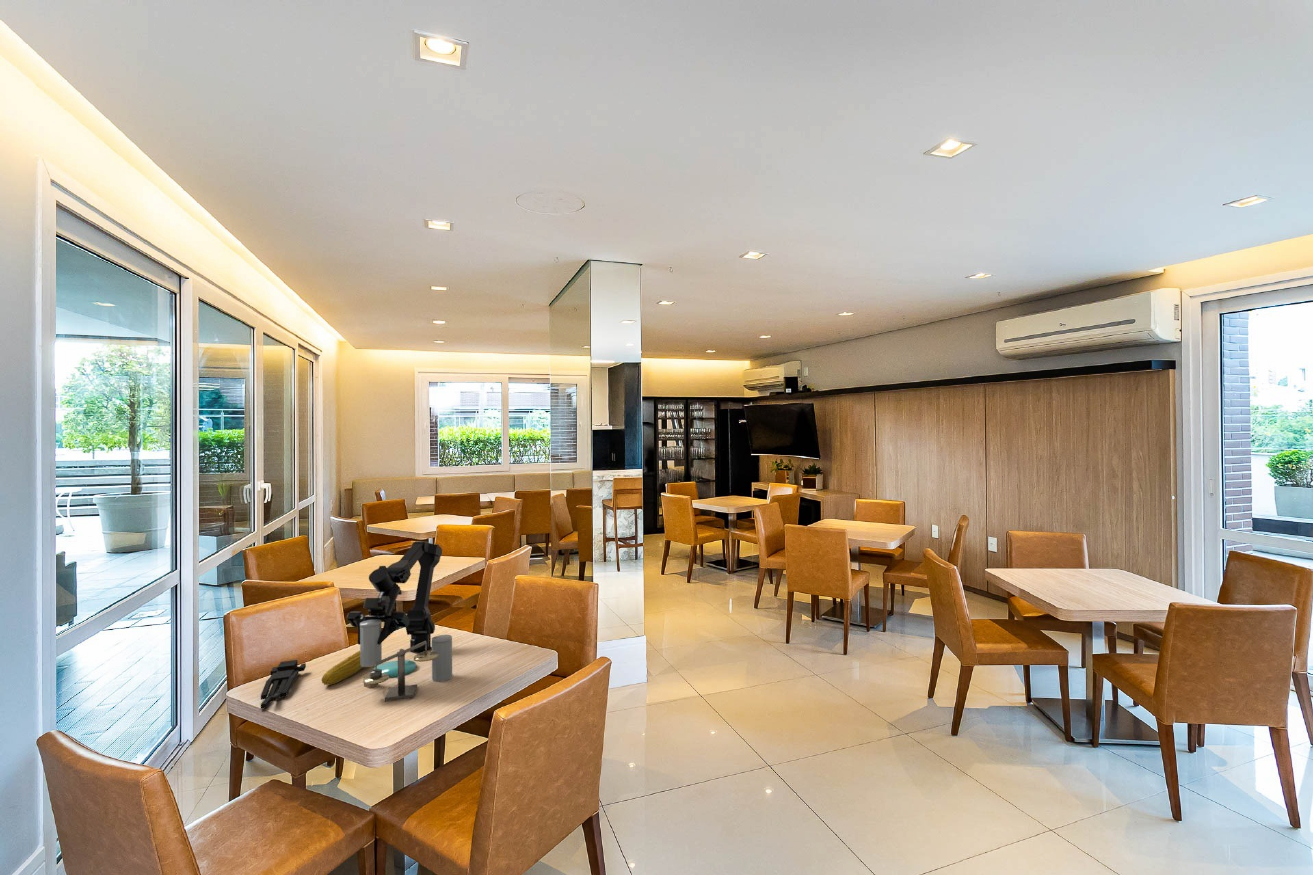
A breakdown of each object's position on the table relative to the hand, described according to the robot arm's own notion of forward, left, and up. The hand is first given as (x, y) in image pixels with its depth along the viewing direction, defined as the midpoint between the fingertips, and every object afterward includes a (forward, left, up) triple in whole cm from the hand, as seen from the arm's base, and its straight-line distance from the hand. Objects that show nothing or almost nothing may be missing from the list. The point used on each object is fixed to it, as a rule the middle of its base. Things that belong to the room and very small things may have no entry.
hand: (368, 643), depth 185 cm
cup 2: (-16, +14, -13) cm, 26 cm away
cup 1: (-1, -1, -7) cm, 7 cm away
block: (-1, -1, -14) cm, 14 cm away
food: (-3, -16, -14) cm, 21 cm away
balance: (-1, +14, -13) cm, 20 cm away
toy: (+15, -23, -14) cm, 31 cm away
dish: (-13, -6, -13) cm, 20 cm away
